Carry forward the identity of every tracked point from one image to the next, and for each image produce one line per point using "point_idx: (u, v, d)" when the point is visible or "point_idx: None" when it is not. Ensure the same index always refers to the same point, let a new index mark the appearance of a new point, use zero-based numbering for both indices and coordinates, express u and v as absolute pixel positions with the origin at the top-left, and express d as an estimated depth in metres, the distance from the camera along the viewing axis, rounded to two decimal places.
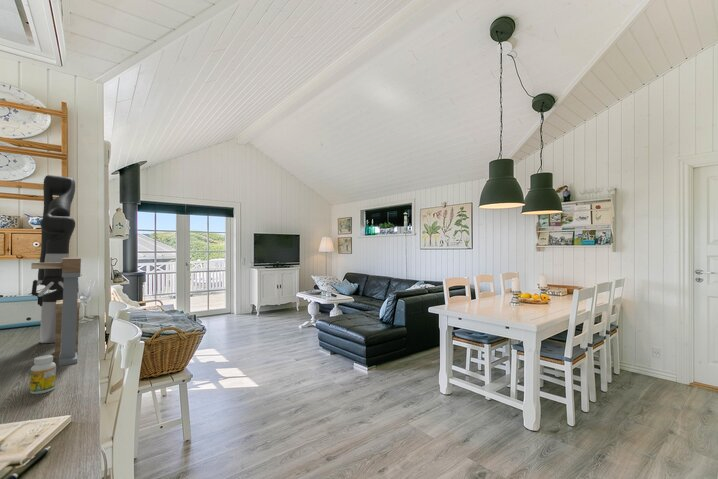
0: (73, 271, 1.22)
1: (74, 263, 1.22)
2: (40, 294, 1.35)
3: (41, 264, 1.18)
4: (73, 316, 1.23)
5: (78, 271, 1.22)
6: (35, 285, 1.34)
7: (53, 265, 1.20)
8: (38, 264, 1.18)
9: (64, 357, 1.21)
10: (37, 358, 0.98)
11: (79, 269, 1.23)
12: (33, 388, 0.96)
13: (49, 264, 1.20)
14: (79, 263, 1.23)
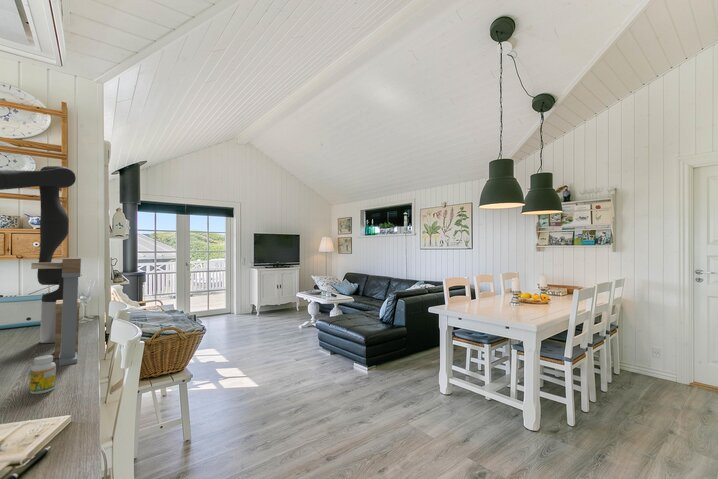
0: (73, 271, 1.22)
1: (74, 263, 1.22)
2: None
3: (41, 264, 1.18)
4: (73, 316, 1.23)
5: (78, 271, 1.22)
6: None
7: (53, 265, 1.20)
8: (38, 264, 1.18)
9: (64, 357, 1.21)
10: (37, 358, 0.98)
11: (79, 269, 1.23)
12: (33, 388, 0.96)
13: (49, 264, 1.20)
14: (79, 263, 1.23)
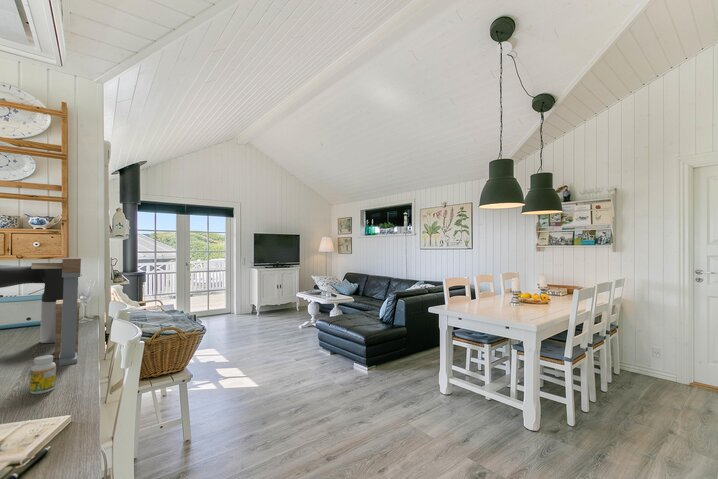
0: (73, 271, 1.22)
1: (74, 263, 1.22)
2: None
3: (41, 264, 1.18)
4: (73, 316, 1.23)
5: (78, 271, 1.22)
6: None
7: (53, 265, 1.20)
8: (38, 264, 1.18)
9: (64, 357, 1.21)
10: (37, 358, 0.98)
11: (79, 269, 1.23)
12: (33, 388, 0.96)
13: (49, 264, 1.20)
14: (79, 263, 1.23)
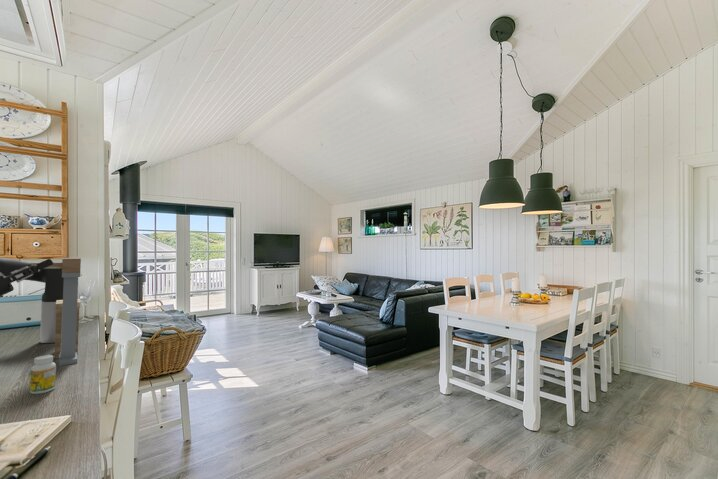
0: (73, 271, 1.22)
1: (73, 263, 1.22)
2: (33, 265, 1.17)
3: None
4: (73, 316, 1.23)
5: (78, 271, 1.22)
6: (19, 271, 1.12)
7: (53, 265, 1.20)
8: None
9: (64, 357, 1.21)
10: (37, 358, 0.98)
11: (79, 269, 1.23)
12: (33, 388, 0.96)
13: None
14: (79, 263, 1.23)
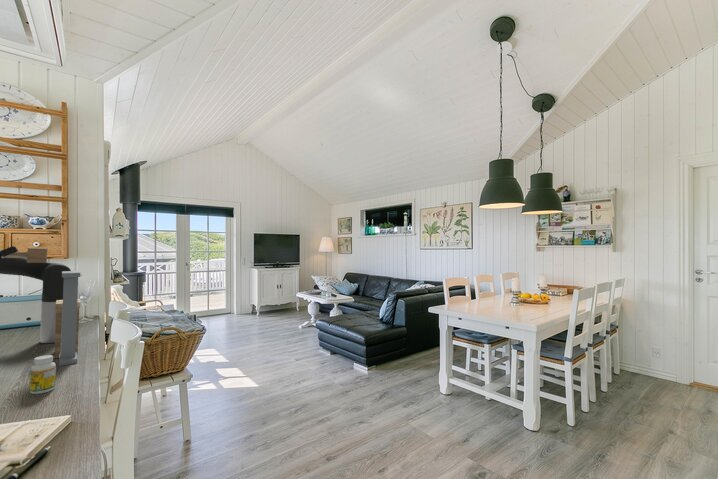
0: (38, 261, 1.22)
1: (39, 253, 1.22)
2: None
3: None
4: (73, 316, 1.23)
5: (44, 261, 1.23)
6: None
7: (18, 254, 1.20)
8: None
9: (64, 357, 1.21)
10: (37, 358, 0.98)
11: (45, 259, 1.23)
12: (33, 388, 0.96)
13: (13, 253, 1.20)
14: (45, 253, 1.23)
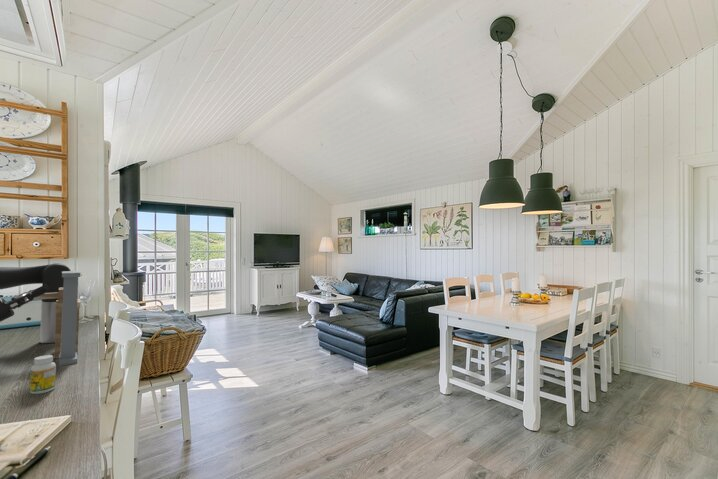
0: None
1: None
2: (28, 293, 1.22)
3: None
4: (73, 316, 1.23)
5: None
6: (15, 299, 1.18)
7: (50, 295, 1.28)
8: None
9: (64, 357, 1.21)
10: (37, 358, 0.98)
11: None
12: (33, 388, 0.96)
13: (46, 294, 1.27)
14: None
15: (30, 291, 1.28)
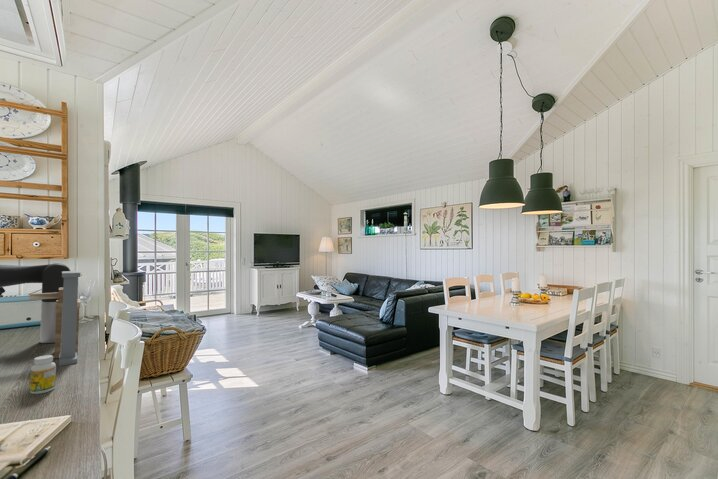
0: None
1: None
2: None
3: (38, 295, 1.26)
4: (73, 316, 1.23)
5: None
6: None
7: (50, 295, 1.28)
8: (36, 295, 1.25)
9: (64, 357, 1.21)
10: (37, 358, 0.98)
11: None
12: (33, 388, 0.96)
13: (46, 294, 1.27)
14: None
15: None
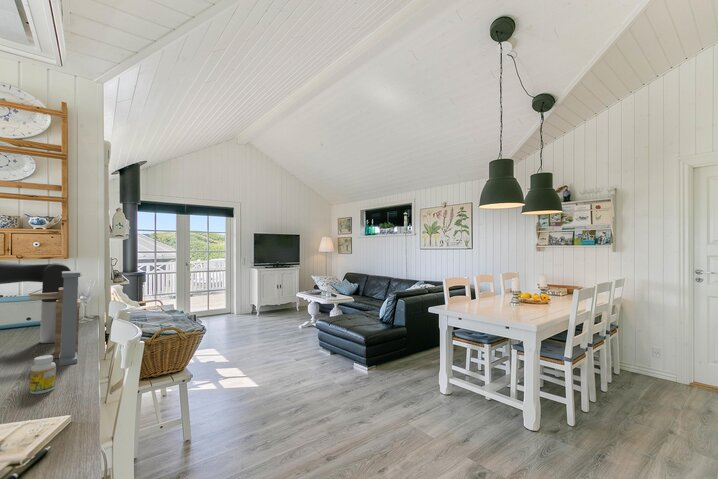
0: None
1: None
2: None
3: (38, 295, 1.26)
4: (73, 316, 1.23)
5: None
6: None
7: (50, 295, 1.28)
8: (36, 295, 1.25)
9: (64, 357, 1.21)
10: (37, 358, 0.98)
11: None
12: (33, 388, 0.96)
13: (46, 294, 1.27)
14: None
15: None
